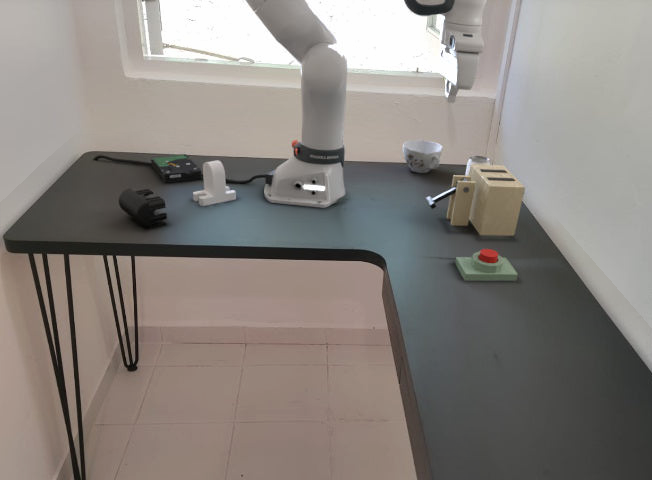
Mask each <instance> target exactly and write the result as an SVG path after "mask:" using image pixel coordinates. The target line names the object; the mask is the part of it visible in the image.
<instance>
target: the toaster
mask: <svg viewBox="0 0 652 480" xmlns="http://www.w3.org/2000/svg"><path fill="white" fill-rule="evenodd" d="M469 176H471V181H475V182H476V184H475V189H474V195H473V200H472V206H471V211H470V216H469V221H470V223H471V224H472V226H473V227H474V229H475V230H476V232H477V233H478V235H479V236H506V237H509V236H510V237H513V236H515V234H516V230H517V229H516V228H517V224H518V220H519V217H520V212H521V207H522V204H523V199H524V195H525V190H526V187H525V185H524V184H522V182H521V181H520V180H519V179H518V178H516V176H515V175H514V174H513V173H512V172H510V171H509V169H508V168H507V167H506V166H505V165H501V164H490V165H480V164H471V167H470V172H469Z"/></svg>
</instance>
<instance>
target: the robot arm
mask: <svg viewBox="0 0 652 480" xmlns="http://www.w3.org/2000/svg"><path fill="white" fill-rule="evenodd" d="M403 1H404V4H405V6H406V7H407V9H408V10H409V11H411V12H412V13H413V14H415V15H416V16H419V17H430V16H435V15H436V16H437V15H441V16H442V20H441V25H440V33H439V34H440V35H439V39H438V40H439V41H438V42H439V45H440V46H439V50H438V51H439V52H438V56H437V61H436V72H437V74H439V75H440V76H442V77H443V78H444V79H445V81H444V86H445V87H444V90H445V92H444V99H445V100H446V102H448V103H449V104H450V103H451V104H454V103H455V102H456V99H457V95H458V92H459V90H465V91H470V90H472V88H473V86H474V84H475V81H476V78H477V73H478V68H479V65H480V64H479V63H480V54H482V53H483V52H484V48H485V42H484V39H483V37H482V29H483V12H484V9H485V8H486V4H487V0H403ZM245 2H246V3H247V5H248V7H250V10H252V11H253V12H254V14H255V15H256V16H257V18H258V19H259V20H260V21H261V23H262V24H263V25H264V27H265V28H266V29H267V31H268V32H269V33H270V35H271V36H273V38H274V39H275V41H276V42H277V43H278V44H279V45H282V47H283V48H284V49H285V50H286V51H287V52H288V53H289V54H290V55H291V56H292V57H293V58H294V59H295V60H296V61H297V62H298V63H299V64H300V89H301V90H300V94H301V95H300V96H301V97H300V98H301V99H300V100H301V141H298V139H293V140H292V141H291V147H292V149H293V156H291V157H290V158H289V159H287V160H285V161H284V162H283V163H281V164H279V165H278V166H277V167H276V168H275V169H272V170H270V171H268V172H266V173H265V174H257V175H253V176H252V177H251V178H249V179H245V180H234V179H229V178H225V182H226V183H230V184H241V185H244V184H250V183H252V182H254V180H257V179H264V181H265V182H264V183H265V186H264V188H263V197H264V198H265V199H266V201H268V202H269V203H272V204H280V205H281V204H282V205H291V206H300V207H311V208H320V209H325V208H328V207H330V206H331V205H335V204H339V202H340V201H339V199H342V198H344V196H345V195H346V188H345V181H344V180H345V179H344V166H345V160H346V147H345V143H344V142H345V140H344V139H345V123H346V103H347V102H346V101H347V81H348V71H349V56H348V53H347V50H346V49H345V48H344V45H342V44H341V42H340V41H339V39H337V37H335V35H334V34H333V33H332V31H331V30H330V28H328V26H327V25H326V24H325V22H323V20H321V18H320V17H319V16H318V15H317V14H316V12H315V11H314V10H313V9H312V8H311V6H310V5H309V3H308V2H307V1H306V0H245ZM99 159H104V160H108V161H111V162H116V163H125V164H126V163H127V164H134V165H135V164H136V165H144V166H149V167H153V166H152V163H151V162H148V161H142V160H141V161H140V160H134V159H133V160H132V159H123V158H114V157H111V156H106V155H103V154H99V155H96V156H95V157H93V159H92V160H93V161H98V160H99ZM202 178H203V173H202Z"/></svg>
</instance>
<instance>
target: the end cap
mask: <svg viewBox="0 0 652 480" xmlns="http://www.w3.org/2000/svg"><path fill="white" fill-rule="evenodd" d="M151 195H154V191H153V190H151V189H150V188H145V189H139V190H133V189H132V188H130V187H129V188H126V189H125V190H123V191H122V192H121V194H120V195H119V197H118V205H119V208H120V209H121V210H122V211H123V212H125V213H126V214H127V215H128V216H129V217H131V218H132V219H133V220H134V221H135V222H137V223H138V224H139V225H141V226H142V227H144V228H146V229H156V228H160V227H164V226H167V223H168V222H167V221H166V220H167V219H168V216H167V212H166V211H165V212H160V213H156V211H157V210H162V209H166V208H167V206H166V201H165V199H164V198H163V197H161V196H159V195H157V196H152V197H149V196H151Z"/></svg>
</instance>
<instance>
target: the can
mask: <svg viewBox="0 0 652 480" xmlns="http://www.w3.org/2000/svg"><path fill="white" fill-rule="evenodd" d="M490 161H491V160H490V159H489V158H488V157H486V156H482V155H471V156H470V157H469V160H468V161H467V163H466V167H465V174H464V175H465V176H469V172H470V167H471V164H480V165H491V163H490Z"/></svg>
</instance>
